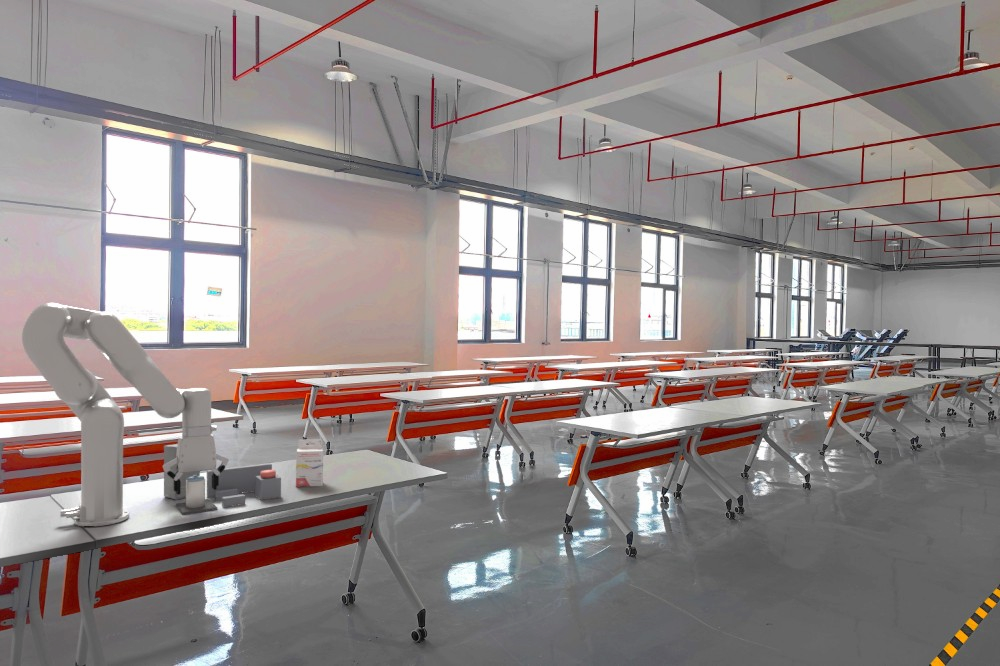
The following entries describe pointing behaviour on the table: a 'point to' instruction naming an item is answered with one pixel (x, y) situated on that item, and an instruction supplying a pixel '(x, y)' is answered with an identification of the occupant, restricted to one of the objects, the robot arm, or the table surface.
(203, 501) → the block
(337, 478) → the table surface
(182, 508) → the mat
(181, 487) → the skincare box
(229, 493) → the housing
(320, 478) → the ink cartridge box
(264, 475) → the plunger
